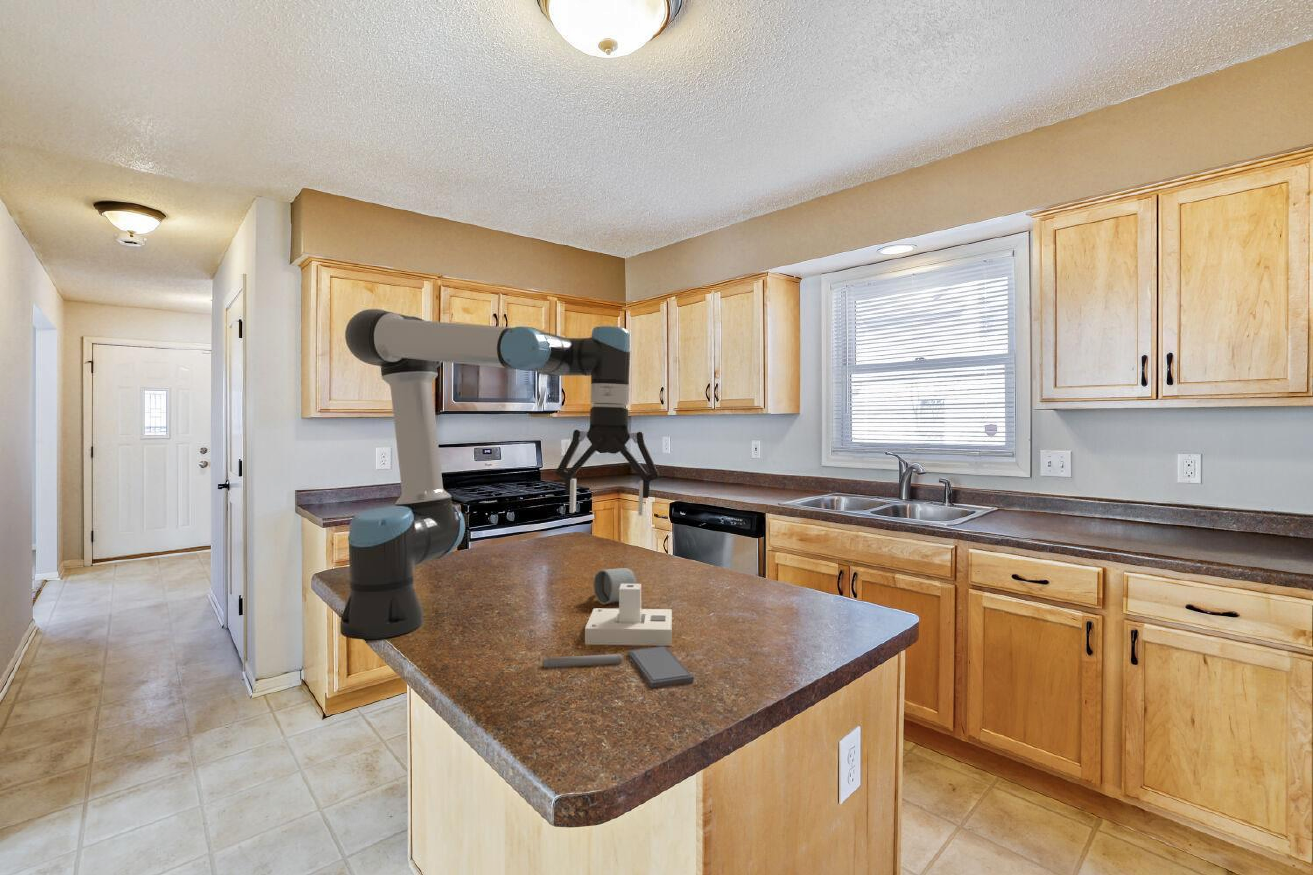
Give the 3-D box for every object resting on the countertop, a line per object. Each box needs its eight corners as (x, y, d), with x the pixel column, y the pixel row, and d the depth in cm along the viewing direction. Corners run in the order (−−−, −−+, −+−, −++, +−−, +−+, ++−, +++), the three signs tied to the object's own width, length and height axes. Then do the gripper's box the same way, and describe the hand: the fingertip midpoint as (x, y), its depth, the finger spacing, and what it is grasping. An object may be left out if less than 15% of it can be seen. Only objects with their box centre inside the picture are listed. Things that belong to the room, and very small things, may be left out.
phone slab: (651, 687, 95) (651, 682, 95) (627, 654, 108) (627, 649, 108) (693, 681, 97) (693, 676, 97) (665, 650, 110) (665, 645, 110)
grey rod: (542, 669, 102) (542, 660, 102) (542, 665, 104) (542, 656, 104) (623, 665, 104) (623, 655, 104) (622, 661, 106) (622, 652, 106)
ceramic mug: (640, 600, 140) (640, 567, 140) (611, 608, 135) (611, 573, 135) (613, 591, 148) (612, 560, 148) (585, 598, 143) (584, 565, 143)
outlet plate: (584, 644, 113) (584, 627, 113) (593, 622, 125) (593, 607, 125) (671, 645, 113) (671, 628, 113) (671, 623, 125) (671, 608, 125)
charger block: (619, 635, 117) (619, 588, 117) (621, 628, 121) (621, 582, 121) (639, 635, 117) (640, 588, 117) (641, 628, 121) (641, 582, 121)
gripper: (542, 404, 117) (540, 513, 118) (672, 407, 116) (668, 518, 117) (550, 404, 125) (548, 507, 126) (672, 408, 124) (669, 512, 125)
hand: (606, 513), depth 121 cm, fingers open, 13 cm apart
